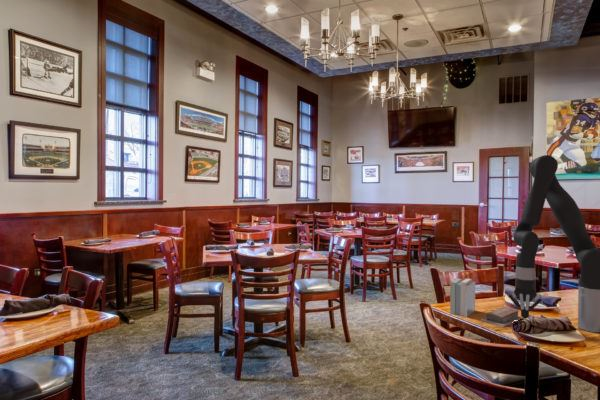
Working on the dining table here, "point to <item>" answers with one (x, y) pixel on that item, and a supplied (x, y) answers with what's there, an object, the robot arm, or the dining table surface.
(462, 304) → the book row
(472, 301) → the bookend
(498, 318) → the packaged product
